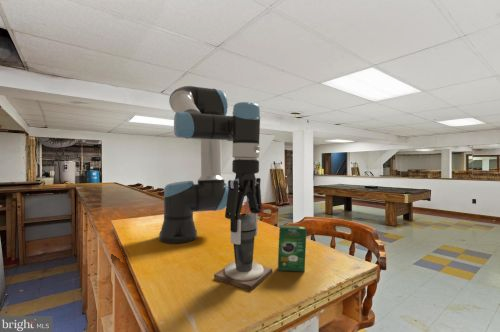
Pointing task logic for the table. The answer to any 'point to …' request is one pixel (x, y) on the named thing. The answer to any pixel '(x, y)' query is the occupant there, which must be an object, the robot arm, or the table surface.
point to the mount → (243, 275)
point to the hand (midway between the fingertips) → (244, 238)
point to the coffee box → (292, 248)
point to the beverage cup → (245, 243)
